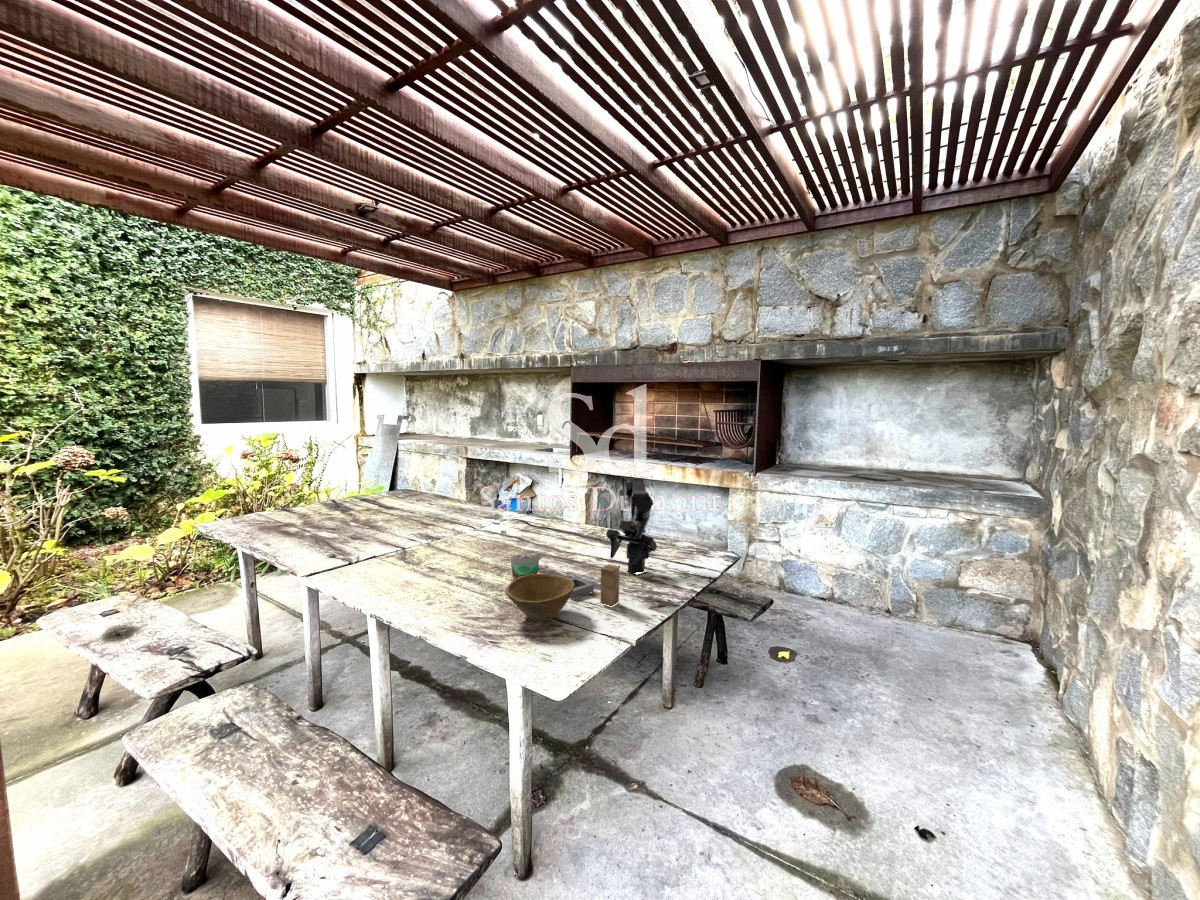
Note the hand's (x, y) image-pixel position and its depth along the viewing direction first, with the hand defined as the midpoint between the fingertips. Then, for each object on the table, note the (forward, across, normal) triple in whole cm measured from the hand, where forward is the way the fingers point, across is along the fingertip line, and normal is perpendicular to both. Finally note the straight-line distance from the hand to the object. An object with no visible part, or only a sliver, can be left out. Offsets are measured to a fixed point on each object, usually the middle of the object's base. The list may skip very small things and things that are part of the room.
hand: (622, 560), depth 174 cm
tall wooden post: (+15, 0, +4) cm, 15 cm away
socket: (+14, -16, +5) cm, 22 cm away
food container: (+16, -38, +3) cm, 41 cm away
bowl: (+29, -14, -10) cm, 34 cm away
